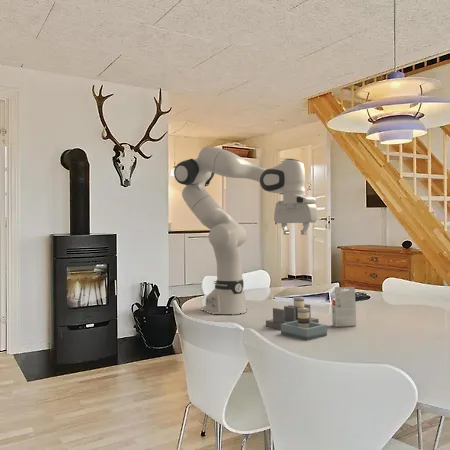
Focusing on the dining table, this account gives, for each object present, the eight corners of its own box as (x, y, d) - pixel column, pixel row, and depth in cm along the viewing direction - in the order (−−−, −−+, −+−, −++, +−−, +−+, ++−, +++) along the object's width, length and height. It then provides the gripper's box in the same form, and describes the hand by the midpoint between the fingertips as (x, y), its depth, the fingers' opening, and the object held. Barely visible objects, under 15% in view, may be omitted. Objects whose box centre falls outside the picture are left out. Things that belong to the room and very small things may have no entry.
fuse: (291, 318, 177) (291, 297, 177) (299, 316, 179) (298, 296, 179) (299, 319, 174) (299, 298, 174) (306, 318, 176) (306, 297, 176)
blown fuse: (295, 331, 159) (295, 308, 159) (303, 329, 162) (302, 306, 162) (304, 333, 156) (303, 309, 156) (312, 331, 159) (311, 308, 159)
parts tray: (281, 333, 160) (280, 323, 160) (300, 329, 167) (300, 319, 167) (307, 340, 151) (307, 329, 151) (327, 335, 157) (326, 324, 157)
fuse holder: (265, 325, 174) (265, 307, 174) (295, 319, 184) (294, 302, 184) (289, 331, 164) (288, 311, 164) (318, 324, 174) (318, 305, 174)
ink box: (332, 325, 172) (331, 286, 172) (352, 324, 173) (351, 285, 173) (335, 327, 169) (334, 287, 169) (356, 326, 170) (355, 286, 170)
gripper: (270, 200, 189) (270, 234, 189) (308, 198, 173) (308, 235, 173) (281, 201, 193) (281, 234, 193) (319, 198, 177) (320, 234, 177)
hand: (294, 234), depth 183 cm, fingers open, 8 cm apart
